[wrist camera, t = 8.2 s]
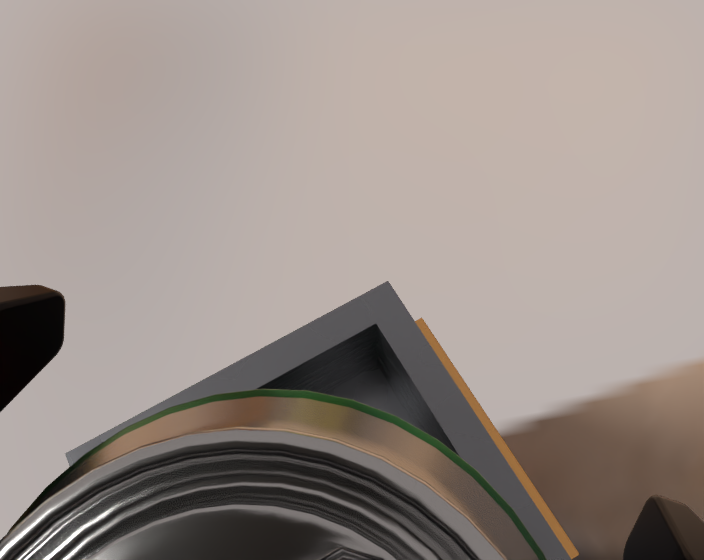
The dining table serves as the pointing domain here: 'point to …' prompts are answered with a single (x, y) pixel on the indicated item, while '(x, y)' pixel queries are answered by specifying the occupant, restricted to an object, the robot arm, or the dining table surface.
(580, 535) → the dining table surface
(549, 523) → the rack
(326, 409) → the soda can
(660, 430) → the dining table surface
